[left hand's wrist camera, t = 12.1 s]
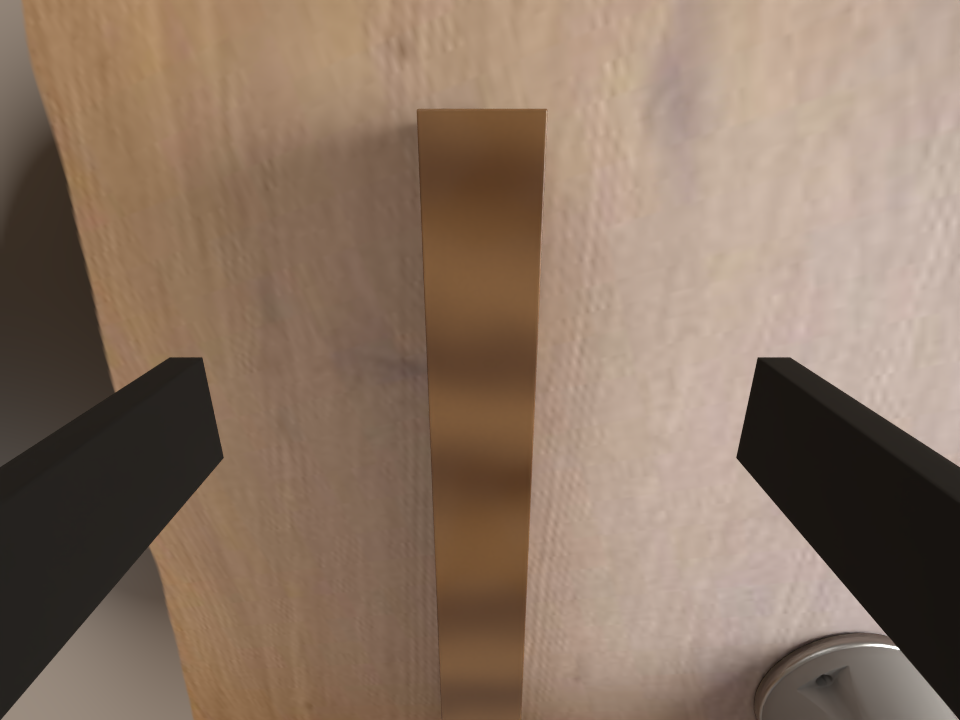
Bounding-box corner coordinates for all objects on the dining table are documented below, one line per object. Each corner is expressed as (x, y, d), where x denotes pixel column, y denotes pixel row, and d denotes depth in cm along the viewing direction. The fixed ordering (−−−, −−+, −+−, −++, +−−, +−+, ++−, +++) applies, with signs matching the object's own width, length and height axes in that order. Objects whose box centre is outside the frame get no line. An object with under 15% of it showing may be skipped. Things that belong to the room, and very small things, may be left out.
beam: (431, 120, 30) (416, 108, 22) (531, 120, 30) (547, 108, 22) (452, 765, 51) (447, 865, 44) (509, 765, 51) (514, 865, 44)
